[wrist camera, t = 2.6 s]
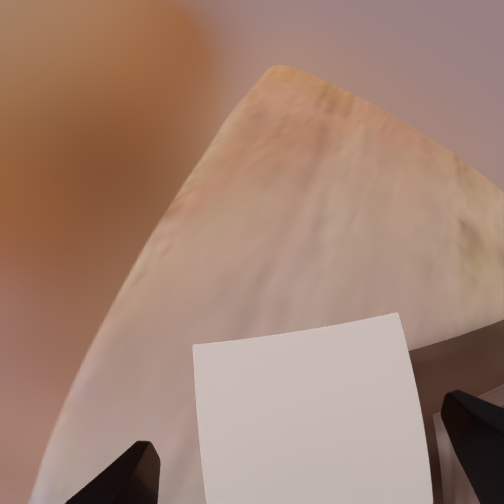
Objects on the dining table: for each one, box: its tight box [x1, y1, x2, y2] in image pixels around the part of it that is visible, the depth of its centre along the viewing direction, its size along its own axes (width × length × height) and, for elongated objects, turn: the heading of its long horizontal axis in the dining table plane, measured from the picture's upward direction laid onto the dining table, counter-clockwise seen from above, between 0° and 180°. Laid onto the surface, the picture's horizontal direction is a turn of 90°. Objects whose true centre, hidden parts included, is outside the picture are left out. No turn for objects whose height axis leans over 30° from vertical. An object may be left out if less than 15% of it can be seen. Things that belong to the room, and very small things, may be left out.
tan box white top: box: [193, 312, 433, 504], centre depth 10 cm, size 5×5×11 cm
